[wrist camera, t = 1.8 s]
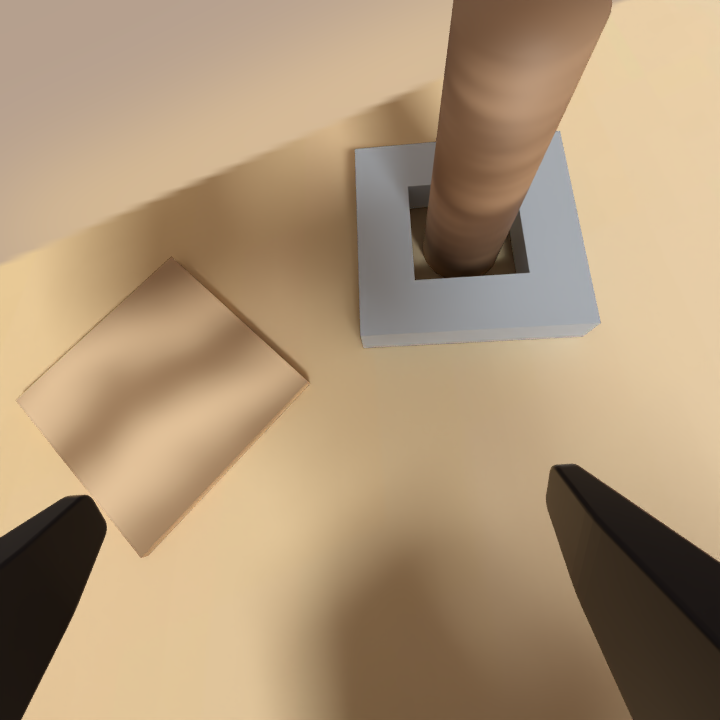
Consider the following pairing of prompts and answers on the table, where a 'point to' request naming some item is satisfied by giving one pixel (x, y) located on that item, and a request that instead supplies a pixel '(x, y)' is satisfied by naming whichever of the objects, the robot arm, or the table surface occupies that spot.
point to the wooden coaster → (160, 402)
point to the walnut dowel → (500, 118)
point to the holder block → (478, 293)
